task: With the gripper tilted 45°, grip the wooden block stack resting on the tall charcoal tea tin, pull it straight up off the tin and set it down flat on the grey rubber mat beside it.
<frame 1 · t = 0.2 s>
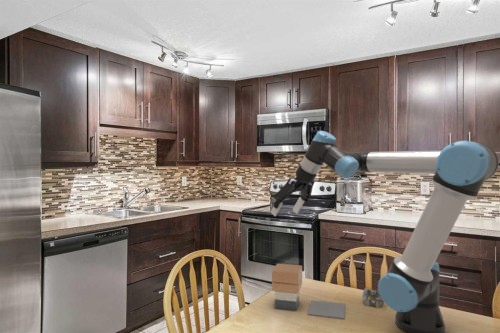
hand: (284, 213, 142), 35 cm above the table, tool tilted 35°, fingers open, 13 cm apart
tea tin: (287, 305, 136), on the table
rubber mat: (326, 309, 132), on the table
wooden block stack: (287, 287, 136), point 7 cm above the table, touching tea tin
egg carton: (372, 302, 140), on the table
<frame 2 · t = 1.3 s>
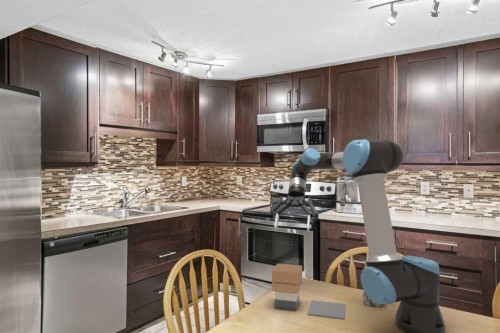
hand: (291, 229, 146), 28 cm above the table, tool tilted 45°, fingers open, 13 cm apart
nothing on the table moved.
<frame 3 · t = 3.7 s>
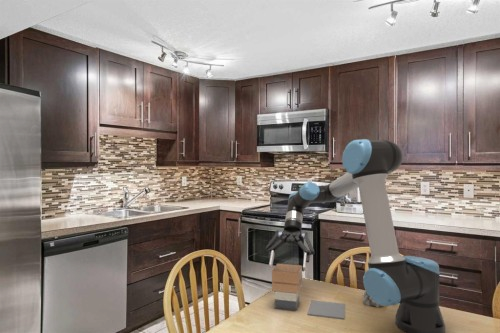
hand: (287, 267, 140), 13 cm above the table, tool tilted 45°, fingers open, 13 cm apart
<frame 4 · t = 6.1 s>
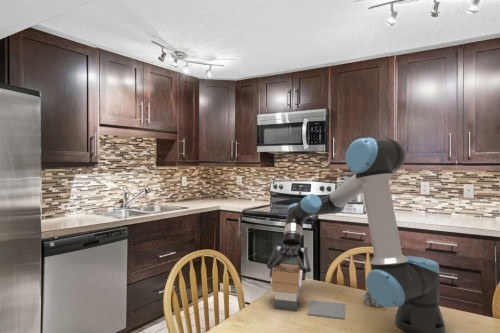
hand: (286, 286, 133), 8 cm above the table, tool tilted 45°, fingers closed on wooden block stack, 10 cm apart
wooden block stack: (287, 287, 136), point 7 cm above the table, touching gripper, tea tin
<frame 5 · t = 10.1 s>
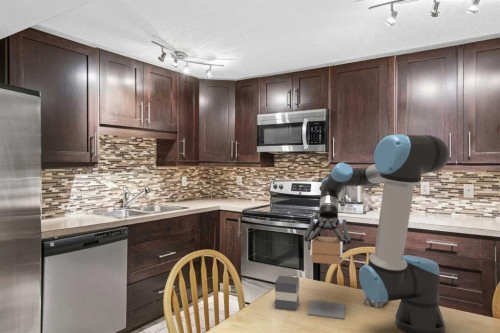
hand: (326, 258, 129), 20 cm above the table, tool tilted 45°, fingers closed on wooden block stack, 10 cm apart
wooden block stack: (326, 259, 132), point 19 cm above the table, touching gripper
when the fingers open (4 cm above the table, at t = 13.9 s): wooden block stack drops 2 cm, resting on rubber mat.
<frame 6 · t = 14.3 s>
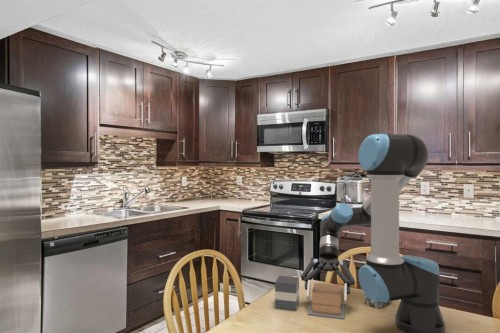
hand: (326, 299, 129), 5 cm above the table, tool tilted 45°, fingers open, 13 cm apart
wooden block stack: (326, 308, 132), resting on rubber mat
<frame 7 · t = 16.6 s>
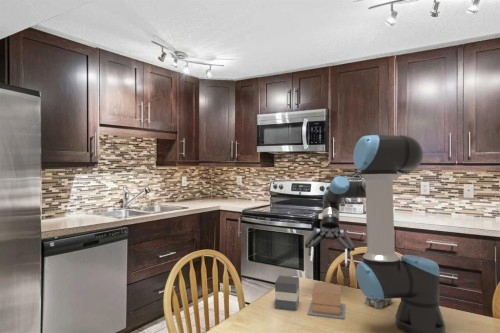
hand: (328, 263, 141), 15 cm above the table, tool tilted 45°, fingers open, 13 cm apart
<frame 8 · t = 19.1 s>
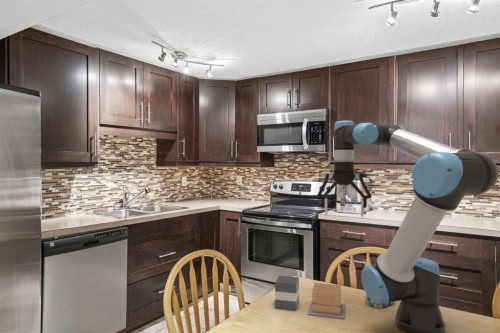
hand: (343, 215, 136), 35 cm above the table, tool pointing down, fingers open, 13 cm apart
at the end: wooden block stack inside the target area on the rubber mat (0.1 cm from its centre), point 0.5 cm above the rubber mat's base; wooden block stack tilted 0°; wooden block stack touching rubber mat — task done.
